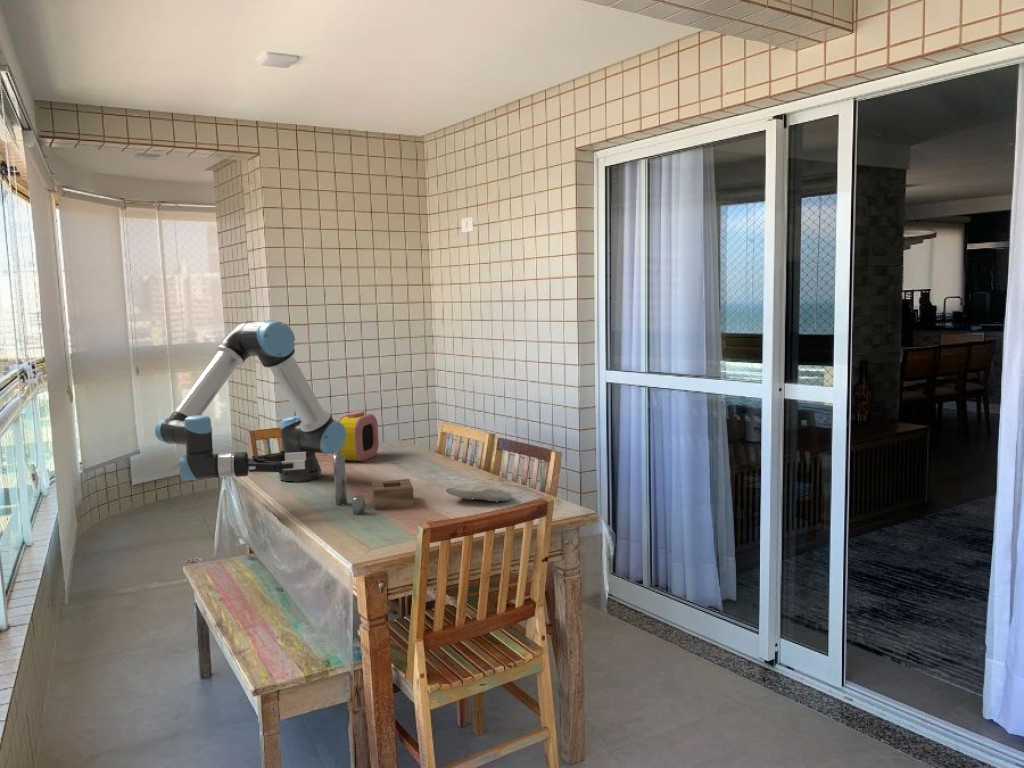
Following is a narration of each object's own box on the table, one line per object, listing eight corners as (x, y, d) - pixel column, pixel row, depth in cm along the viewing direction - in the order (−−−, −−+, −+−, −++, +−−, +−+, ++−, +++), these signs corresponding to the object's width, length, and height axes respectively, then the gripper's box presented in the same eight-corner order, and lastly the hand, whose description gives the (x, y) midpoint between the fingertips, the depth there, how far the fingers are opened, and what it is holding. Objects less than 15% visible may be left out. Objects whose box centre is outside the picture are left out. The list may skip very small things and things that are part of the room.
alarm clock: (360, 464, 305) (357, 416, 302) (335, 463, 308) (332, 415, 306) (380, 454, 322) (378, 409, 320) (356, 454, 325) (354, 408, 323)
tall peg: (335, 502, 249) (332, 454, 247) (347, 501, 250) (344, 453, 248) (335, 505, 245) (332, 456, 244) (347, 504, 246) (344, 455, 244)
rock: (482, 493, 264) (428, 491, 254) (484, 475, 264) (431, 473, 254) (516, 509, 243) (459, 507, 233) (519, 490, 243) (462, 487, 233)
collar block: (372, 500, 251) (371, 482, 250) (409, 496, 254) (408, 478, 253) (375, 509, 239) (374, 490, 238) (413, 506, 242) (412, 487, 241)
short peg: (352, 512, 237) (352, 496, 237) (364, 511, 238) (363, 495, 238) (353, 515, 234) (352, 499, 233) (365, 514, 235) (364, 498, 234)
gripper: (239, 468, 250) (306, 464, 255) (230, 485, 226) (304, 480, 231) (238, 445, 250) (305, 441, 255) (228, 460, 226) (303, 455, 230)
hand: (305, 460), depth 243 cm, fingers open, 13 cm apart
